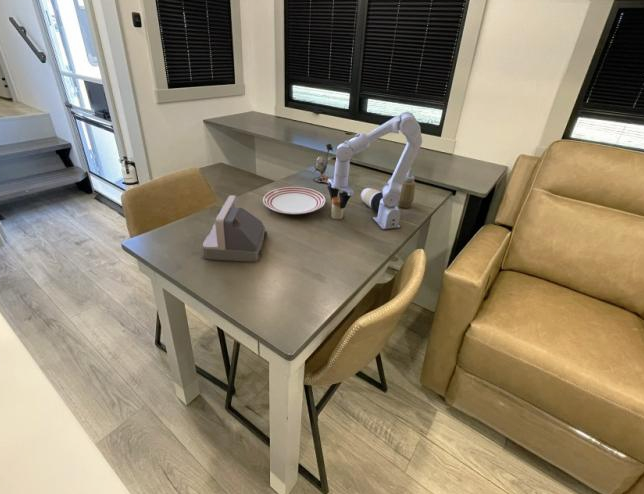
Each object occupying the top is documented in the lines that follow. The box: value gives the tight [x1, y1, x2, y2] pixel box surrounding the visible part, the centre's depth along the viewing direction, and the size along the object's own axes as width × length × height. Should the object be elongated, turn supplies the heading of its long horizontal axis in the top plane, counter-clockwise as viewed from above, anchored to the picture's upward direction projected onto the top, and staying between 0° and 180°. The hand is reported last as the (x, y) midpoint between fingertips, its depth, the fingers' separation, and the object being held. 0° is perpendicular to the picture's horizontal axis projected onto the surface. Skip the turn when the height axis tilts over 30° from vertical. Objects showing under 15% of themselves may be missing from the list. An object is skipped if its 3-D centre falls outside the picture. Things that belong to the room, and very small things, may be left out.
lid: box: [331, 195, 340, 206], centre depth 136 cm, size 6×6×2 cm
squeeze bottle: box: [398, 167, 416, 209], centre depth 149 cm, size 8×8×18 cm
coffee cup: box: [360, 187, 383, 213], centre depth 145 cm, size 9×9×15 cm
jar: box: [330, 203, 345, 220], centre depth 138 cm, size 5×5×7 cm
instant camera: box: [202, 195, 268, 263], centre depth 113 cm, size 21×21×15 cm
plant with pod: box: [312, 142, 334, 184], centre depth 169 cm, size 8×11×20 cm
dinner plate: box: [262, 186, 326, 216], centre depth 146 cm, size 27×27×3 cm
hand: (338, 204), depth 137 cm, fingers closed on lid, 5 cm apart
